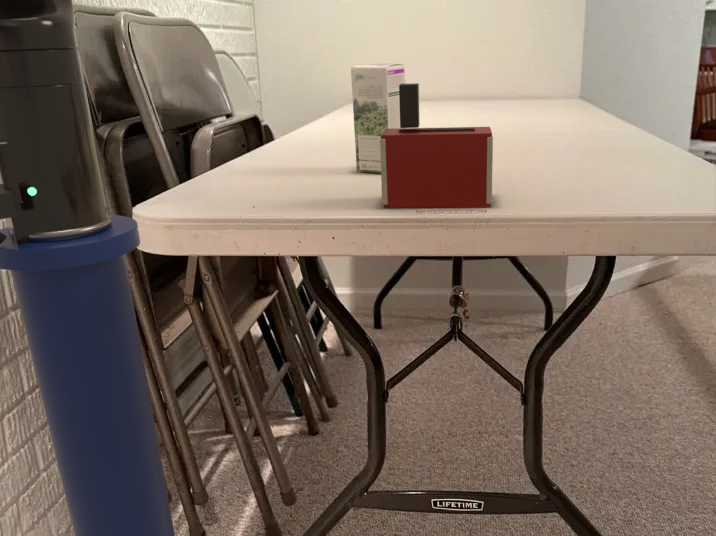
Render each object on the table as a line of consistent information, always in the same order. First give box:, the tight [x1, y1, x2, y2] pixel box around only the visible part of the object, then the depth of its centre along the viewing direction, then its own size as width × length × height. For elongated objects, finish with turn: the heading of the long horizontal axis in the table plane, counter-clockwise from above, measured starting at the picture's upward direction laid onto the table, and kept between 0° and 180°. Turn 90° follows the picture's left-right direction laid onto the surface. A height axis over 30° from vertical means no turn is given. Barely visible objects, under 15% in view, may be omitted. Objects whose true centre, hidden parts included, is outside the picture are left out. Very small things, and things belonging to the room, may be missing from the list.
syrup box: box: [350, 63, 406, 174], centre depth 101 cm, size 6×6×14 cm
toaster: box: [380, 126, 494, 209], centre depth 81 cm, size 12×6×8 cm, turn 86°
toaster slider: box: [399, 82, 420, 128], centre depth 79 cm, size 2×2×4 cm
